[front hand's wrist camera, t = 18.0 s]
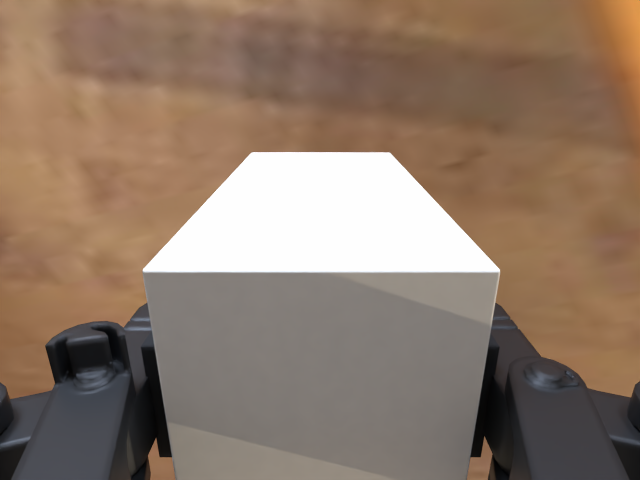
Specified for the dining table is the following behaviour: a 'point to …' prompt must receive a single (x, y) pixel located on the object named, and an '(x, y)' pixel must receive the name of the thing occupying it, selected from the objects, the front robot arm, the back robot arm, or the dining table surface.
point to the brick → (321, 326)
